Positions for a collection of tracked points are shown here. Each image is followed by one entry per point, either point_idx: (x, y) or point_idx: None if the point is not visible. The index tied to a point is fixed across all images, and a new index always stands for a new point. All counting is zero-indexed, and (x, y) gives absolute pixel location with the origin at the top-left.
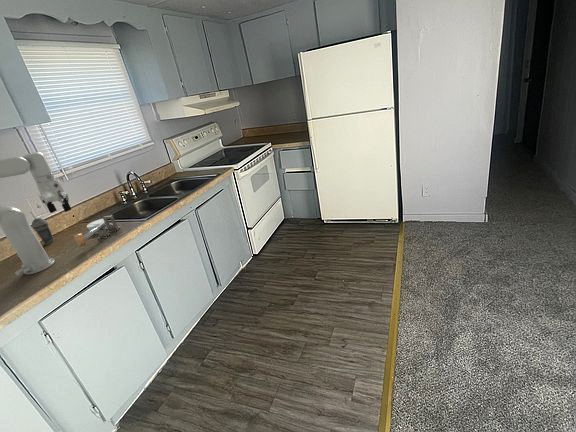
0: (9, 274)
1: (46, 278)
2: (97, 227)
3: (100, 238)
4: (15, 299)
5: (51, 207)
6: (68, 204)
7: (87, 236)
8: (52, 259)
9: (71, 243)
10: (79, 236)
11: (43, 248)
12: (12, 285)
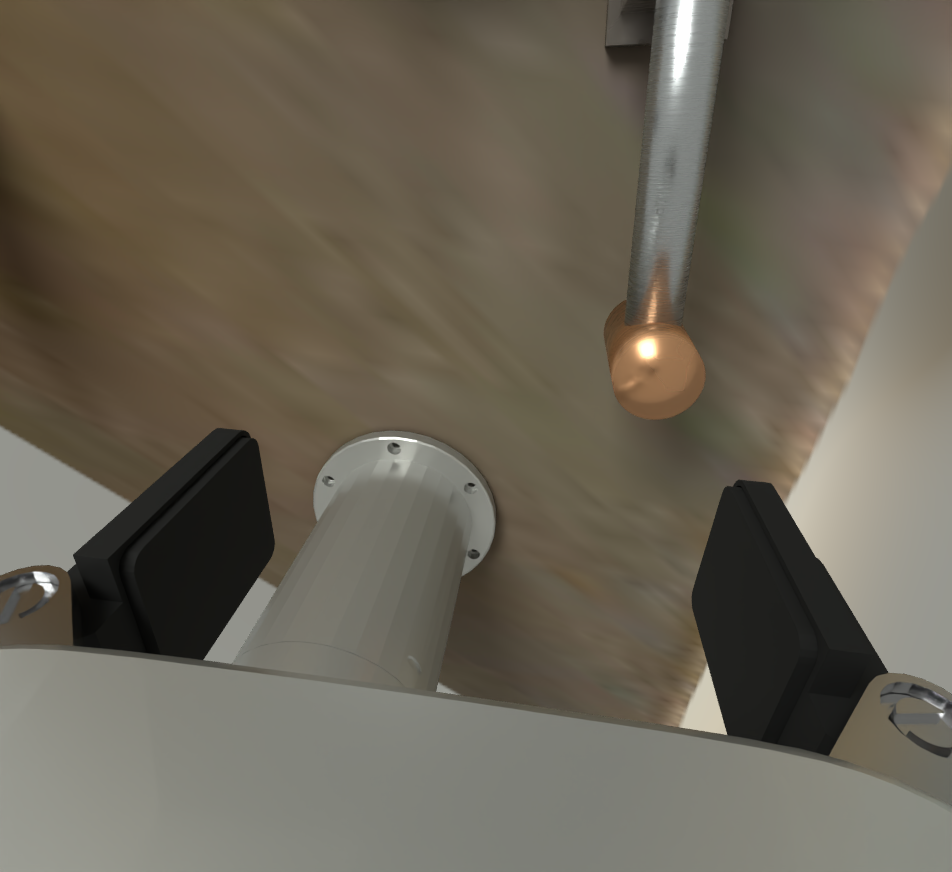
0: None
1: (610, 626)
2: (714, 21)
3: (642, 44)
4: None
5: (205, 587)
6: (867, 641)
7: (688, 274)
8: (444, 462)
9: (280, 124)
10: (692, 394)
11: (418, 547)
12: None
